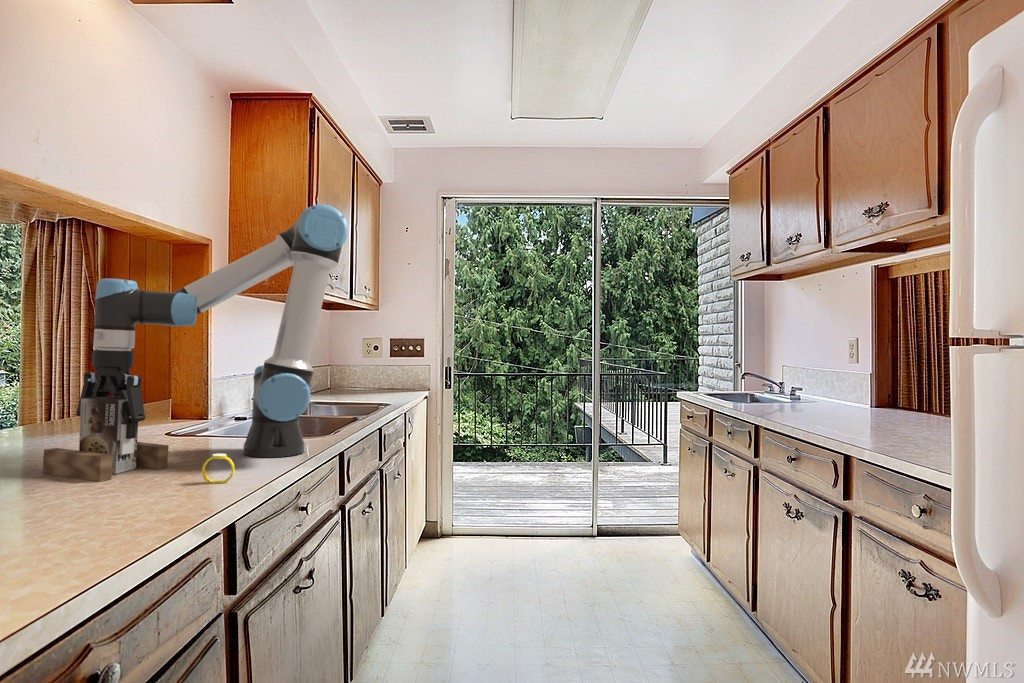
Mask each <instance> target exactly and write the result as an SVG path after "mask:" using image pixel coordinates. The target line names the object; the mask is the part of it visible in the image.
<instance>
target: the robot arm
mask: <svg viewBox="0 0 1024 683" xmlns="http://www.w3.org/2000/svg"><path fill="white" fill-rule="evenodd" d="M348 234H349V226H348V222H347V220H346V218H345V216H344V215H343V214H342V212H341V211H340V210H338V208H336V207H333V206H332V205H329V204H324V203H320V204H318V203H317V204H314V205H311V206H308V207H307V208H305V209H303V211H302V212H301V214H300V215H299V218H298V219H297V220H296V221H295V223H293V225H291V226H290V227H289V228H288V229H286V230H284V231H283V232H280V233H279V234H276V236H275V240H274V241H272V242H270V243H268V244H266V245H264V246H262V247H259V248H258V249H256V250H254V251H252V252H250V253H249V254H246V255H244V256H243V257H239V258H238V259H237V260H234V261H233V262H231V263H229V264H226V265H224V266H223V267H221V268H218V269H217V270H215V271H212V272H210V273H208V274H207V275H204V276H203V277H201V278H199V279H197V280H195V281H193V282H191V283H189V284H188V285H185V286H183V287H181V288H179V289H177V290H175V291H172V292H171V291H169V292H168V291H154V290H153V291H151V290H150V291H149V290H143V289H139V287H138V282H136V281H135V280H129V279H120V278H101V279H99V280H98V281H97V284H96V292H95V297H94V319H93V320H94V321H93V322H94V323H93V324H94V326H93V327H94V328H93V329H94V330H93V345H92V346H93V348H96V349H94V350H93V351H92V355H91V356H92V358H91V359H92V360H91V361H92V362H91V366H92V367H94V368H96V370H95V371H94V372H85V373H84V374H83V386H82V390H81V393H80V397H79V401H78V405H77V410H76V413H75V414H76V416H77V417H80V413H81V398H88V397H100V396H109V394H111V396H115V397H116V399H126V398H128V400H127V401H125V402H123V403H122V417H123V420H124V422H122V424H121V434H120V455H123V454H129V453H134V438H135V437H136V425H137V423H138V424H139V423H140V422H142V421H143V422H144V421H145V420H146V414H145V408H144V401H143V395H142V389H141V388H142V387H141V385H142V377H141V375H131V374H130V369H131V368H133V366H134V356H135V352H133V350H132V349H134V348H135V344H136V324H140V325H144V324H145V325H158V326H159V325H160V326H166V327H167V326H168V327H172V328H174V327H193V326H195V324H197V318H198V317H197V316H199V315H200V314H202V313H204V312H206V311H208V310H210V309H211V308H214V307H215V306H217V305H219V304H221V303H222V302H225V301H227V300H229V299H230V298H232V297H235V296H236V295H239V294H240V293H243V292H244V291H246V290H248V289H250V288H251V287H253V286H255V285H257V284H259V283H261V282H263V281H265V280H267V279H268V278H269V279H270V277H272V276H275V275H277V274H278V273H280V272H282V271H284V270H286V269H287V268H290V267H293V269H292V273H291V277H290V282H289V285H288V286H289V287H288V290H287V294H286V298H285V302H284V306H283V307H284V308H283V311H282V315H281V318H280V323H279V327H278V333H277V335H276V336H277V337H276V341H275V344H274V345H275V346H274V349H273V353H272V355H271V356H270V357H268V358H267V359H265V360H264V362H263V364H262V365H259V366H257V367H255V370H254V374H253V377H252V378H253V394H252V395H253V399H252V415H251V425H250V428H249V431H248V433H247V436H246V439H245V442H244V443H243V450H242V453H243V455H246V456H248V457H255V458H256V457H257V458H286V457H292V455H293V456H297V455H296V454H298V455H301V454H304V452H305V442H304V438H303V433H302V430H301V427H300V416H301V415H302V414H304V413H305V411H306V410H307V409H308V407H309V404H310V402H311V399H312V398H311V388H310V387H311V383H312V379H313V375H314V368H313V367H312V365H311V364H310V360H311V354H312V352H313V351H312V350H313V346H314V343H315V337H316V333H317V328H318V325H319V320H320V316H321V312H322V307H323V303H324V298H325V293H326V290H327V287H328V286H327V285H328V282H329V276H330V273H331V270H333V269H334V268H335V267H337V266H338V265H339V261H340V256H341V253H342V247H343V246H344V244H345V243H346V241H347V238H348V236H349V235H348ZM137 415H138V416H137ZM129 416H130V417H131V418H129ZM300 453H301V454H300ZM285 456H286V457H285Z"/></svg>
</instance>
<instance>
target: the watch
mask: <svg viewBox="0 0 1024 683" xmlns="http://www.w3.org/2000/svg"><path fill="white" fill-rule="evenodd" d="M212 460H225V461H227V462H228V463H229V465H230V467H231V472H230V475H229V477H227V478H226V479H223V480H219V479H217V480H212V479H211V478H209V477H208V475H207V474H206V467H207V465H208V463H209V462H210V461H212ZM235 470H236V469H235V463H234V462H233V460H232V459H231V458H230V457H228V456H227V453H213V454H211V457H208V459H206V460H205V462H204V463H203V465H202V468H201V475H202V478H203V480H205V481H206V482H207V483H208V484H226V483H227V482H228V481H230V480H231V479H232V477H233V476H234V473H235Z"/></svg>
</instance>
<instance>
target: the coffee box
mask: <svg viewBox="0 0 1024 683" xmlns="http://www.w3.org/2000/svg"><path fill="white" fill-rule="evenodd" d="M127 400H128V398H126V399H116V397H115V396H113V395H107V396H100V397H88V398H81V413H80V416H79V419H80V420H79V444H78V445H79V446H78V448H79V449H78V451H85V452H93V453H101V454H109V455H113V456H112V475H113V474H114V475H117V474H120V473H124V472H129V471H132V470H136V469H137V467H136V459H137V442H138V436H139V435H138V431H139V422H138V423H137V425H136V437H135V438H134V453H129V454H123V455H120V434H121V424H122V422H124V420H123V417H122V403H123V402H125V401H127ZM137 416H139V415H137ZM129 418H131V417H130V416H129Z"/></svg>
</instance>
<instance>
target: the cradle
mask: <svg viewBox="0 0 1024 683" xmlns="http://www.w3.org/2000/svg"><path fill="white" fill-rule="evenodd" d="M112 456H113V455H109V454H101V453H93V452H85V451H79V450H75V449H69V448H62V447H61V448H60V447H54V448H53V447H52V448H46V449H43V458H42V459H43V462H42V474H44V475H51V476H56V477H63V478H64V477H65V478H70V479H79V480H84V481H85V480H86V481H92V482H98V483H99V482H106V481H110V480H112V475H113V474H112ZM168 460H169V445H168V444H162V443H160V444H158V443H150V442H141V441H137V459H136V468H137V467H138V468H144V469H145V468H146V469H153V470H161V469H166V468H168V465H169V463H168V462H169V461H168Z"/></svg>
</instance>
